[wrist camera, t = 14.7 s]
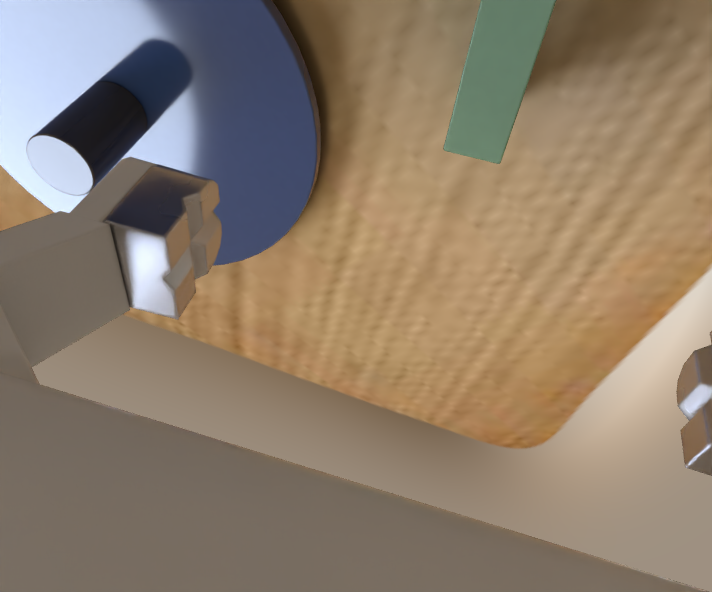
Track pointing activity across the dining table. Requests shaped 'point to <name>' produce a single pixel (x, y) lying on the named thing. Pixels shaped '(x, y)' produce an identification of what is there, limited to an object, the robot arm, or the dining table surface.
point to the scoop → (496, 75)
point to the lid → (162, 104)
